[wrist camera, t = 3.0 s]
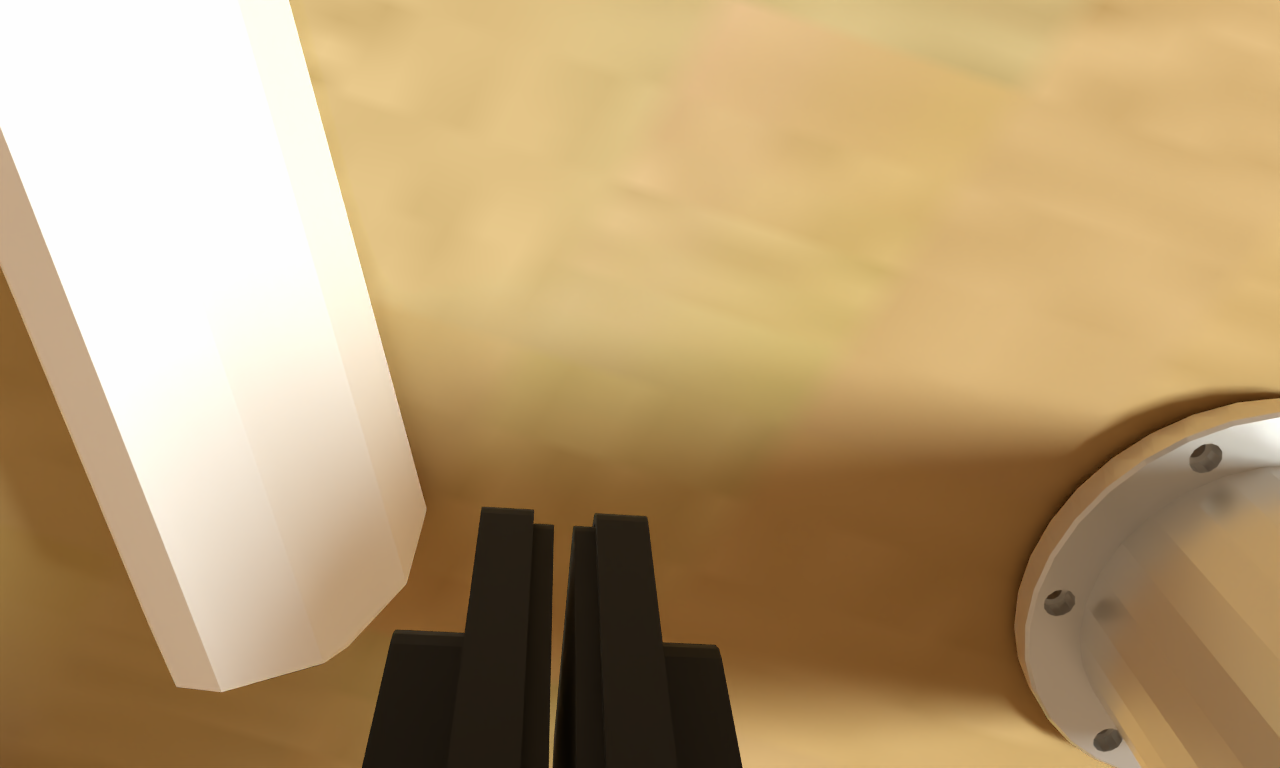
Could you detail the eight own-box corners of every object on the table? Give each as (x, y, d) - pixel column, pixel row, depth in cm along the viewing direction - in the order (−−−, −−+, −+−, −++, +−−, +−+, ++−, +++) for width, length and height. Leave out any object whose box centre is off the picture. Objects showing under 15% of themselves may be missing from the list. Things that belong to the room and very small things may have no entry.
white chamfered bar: (-481, -450, 18) (65, 711, 28) (-248, -599, 15) (276, 777, 25) (-55, -405, 24) (272, 546, 34) (183, -505, 21) (467, 582, 31)
